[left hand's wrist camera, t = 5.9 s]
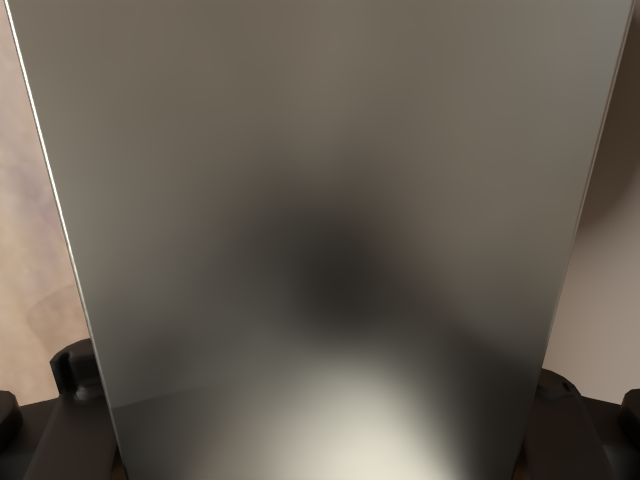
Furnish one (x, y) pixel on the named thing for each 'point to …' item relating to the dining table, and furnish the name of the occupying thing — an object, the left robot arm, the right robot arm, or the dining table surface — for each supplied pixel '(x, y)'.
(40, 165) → the dining table surface
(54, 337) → the dining table surface
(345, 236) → the box
